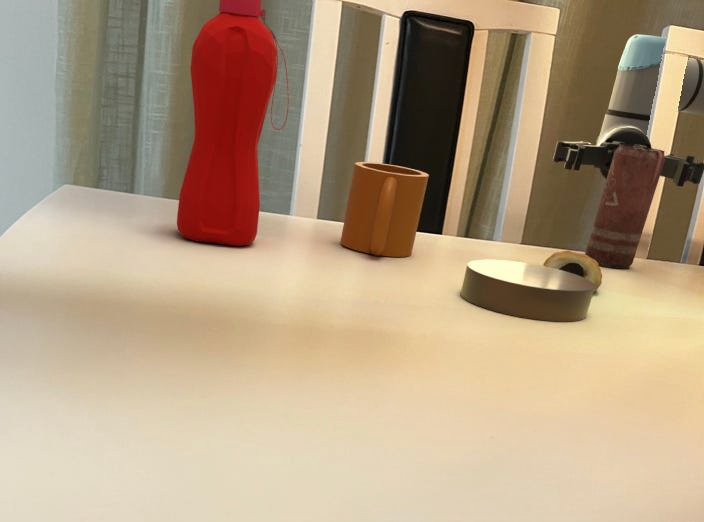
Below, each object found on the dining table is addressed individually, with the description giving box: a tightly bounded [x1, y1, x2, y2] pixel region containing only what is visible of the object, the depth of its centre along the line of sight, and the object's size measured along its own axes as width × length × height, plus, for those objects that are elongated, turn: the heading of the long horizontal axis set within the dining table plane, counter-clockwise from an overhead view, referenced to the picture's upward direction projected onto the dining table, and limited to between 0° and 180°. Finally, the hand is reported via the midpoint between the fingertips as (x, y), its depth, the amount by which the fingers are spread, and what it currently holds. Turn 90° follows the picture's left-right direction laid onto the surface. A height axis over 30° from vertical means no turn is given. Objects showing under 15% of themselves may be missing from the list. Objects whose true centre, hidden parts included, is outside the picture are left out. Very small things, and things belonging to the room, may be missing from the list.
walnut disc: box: [460, 259, 595, 323], centre depth 104 cm, size 13×13×3 cm
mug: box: [340, 161, 430, 258], centre depth 118 cm, size 9×12×9 cm
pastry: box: [542, 250, 603, 292], centre depth 115 cm, size 9×7×4 cm
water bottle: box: [176, 0, 290, 247], centre depth 110 cm, size 9×11×25 cm
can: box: [584, 144, 665, 270], centre depth 128 cm, size 6×6×14 cm
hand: (630, 167), depth 134 cm, fingers open, 13 cm apart
